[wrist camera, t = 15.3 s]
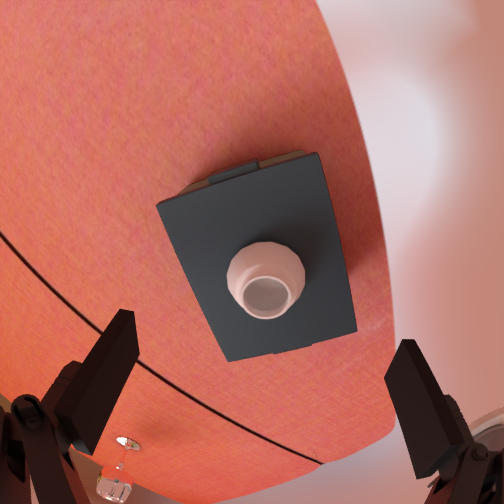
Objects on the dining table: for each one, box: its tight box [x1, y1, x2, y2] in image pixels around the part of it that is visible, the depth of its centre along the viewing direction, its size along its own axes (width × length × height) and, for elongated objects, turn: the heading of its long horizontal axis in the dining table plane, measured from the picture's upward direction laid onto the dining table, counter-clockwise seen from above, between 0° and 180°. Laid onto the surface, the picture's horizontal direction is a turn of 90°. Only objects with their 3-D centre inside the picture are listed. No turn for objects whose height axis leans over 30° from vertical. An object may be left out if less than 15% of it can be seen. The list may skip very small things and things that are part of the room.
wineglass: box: [97, 437, 140, 503], centre depth 38 cm, size 6×6×12 cm
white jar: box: [227, 242, 305, 319], centre depth 19 cm, size 5×3×5 cm
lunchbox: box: [156, 150, 357, 362], centre depth 24 cm, size 15×11×7 cm
